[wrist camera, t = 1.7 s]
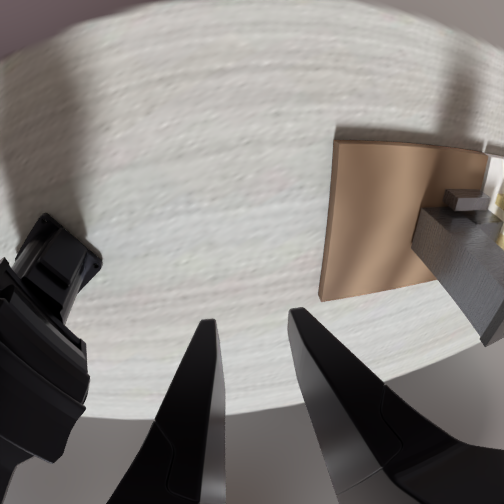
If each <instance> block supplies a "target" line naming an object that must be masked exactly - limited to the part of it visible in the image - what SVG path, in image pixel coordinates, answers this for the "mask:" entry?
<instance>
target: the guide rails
mask: <svg viewBox="0 0 504 504" xmlns="http://www.w3.org/2000/svg"><path fill="white" fill-rule="evenodd" d="M490 200H491V197H489V196H488V195H486V194H485V193H484V192H482V191H481V190H479V189H445V193H444V197H443V202H444V203H445V204H447V205H448V206H449V207H450V208H452V209H453V210H454V211H468V210H487V209H488V207H489V203H490Z"/></svg>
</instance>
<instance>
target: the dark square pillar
mask: <svg viewBox="0 0 504 504" xmlns="http://www.w3.org/2000/svg"><path fill="white" fill-rule="evenodd" d="M503 223H504V222H503V221H502V220H501V219H500V218H498V217H497V216H496V215H495V214H493V213H492V212H491V211H490V210H488V209H487V210H468V211H454V210H453V209H452V208H450V207H449V206H448V207H427V208H421V212H420V216H419V220H418V224H417V228H416V231H415V235H414V239H413V242H412V246H411V249H412V250H413V251H414V253H415V254H416V255H417V256H418V257H419V258H420V259H421V261H422V262H423V263H424V264H425V265H426V266H427V268H428V269H429V270H430V271H431V272H432V274H433V275H434V276H435V277H436V278H437V280H438V281H439V282H440V283H441V285H442V286H443V287H444V288H445V290H446V291H447V292H448V293H449V295H450V296H451V297H452V298H453V300H454V301H455V302H456V304H457V305H458V306H459V308H460V309H461V310H462V312H463V313H464V314H465V316H466V317H467V318H468V320H469V321H470V323H471V324H472V325H473V327H474V328H475V330H476V331H477V332H478V334H479V335H480V340H481V342H482V343H483V345H484V346H485V347H486V346H488V345H490V344H492V343H494V342H496V341H498V340H500V339H502V338H503V337H504V250H503V249H502V248H501V247H500V246H498V245H497V244H496V242H497V239H498V237H499V234H500V231H501V228H502V226H503Z"/></svg>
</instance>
